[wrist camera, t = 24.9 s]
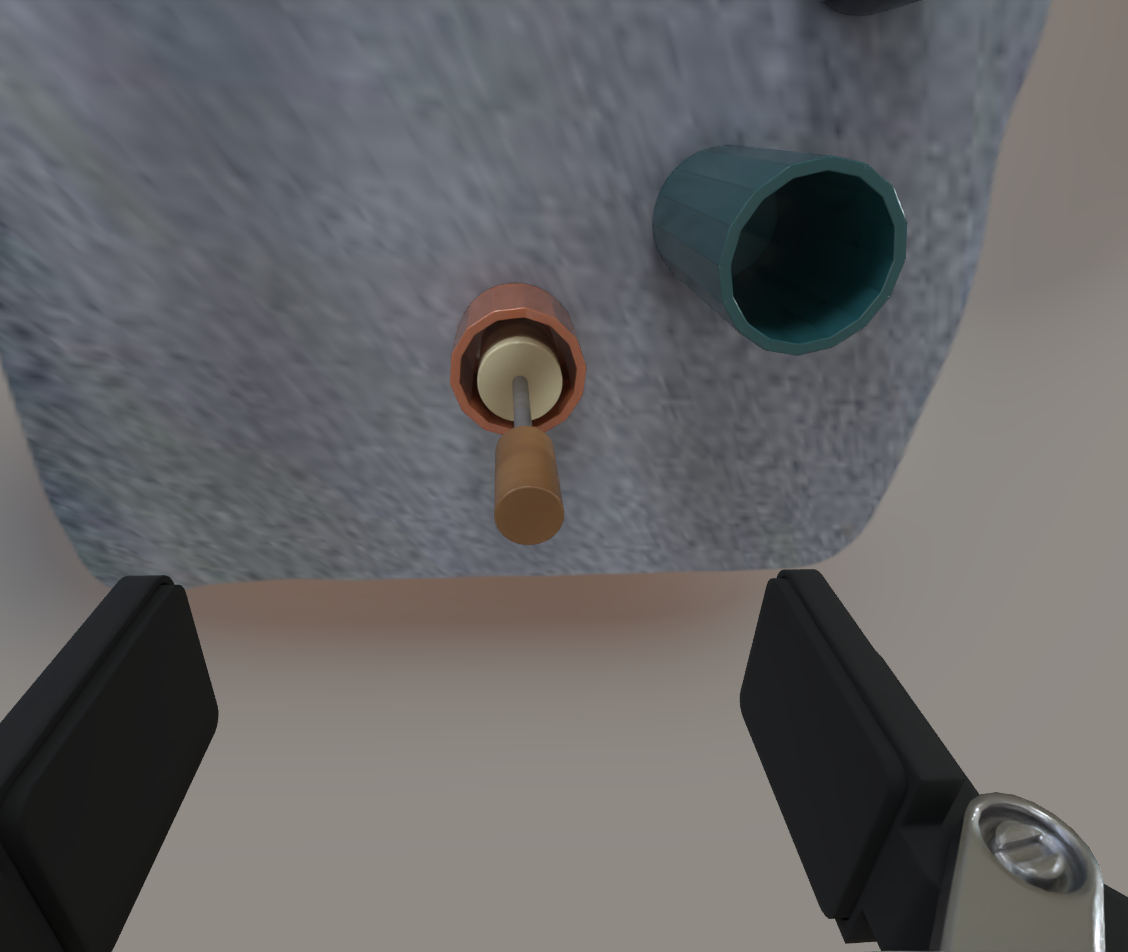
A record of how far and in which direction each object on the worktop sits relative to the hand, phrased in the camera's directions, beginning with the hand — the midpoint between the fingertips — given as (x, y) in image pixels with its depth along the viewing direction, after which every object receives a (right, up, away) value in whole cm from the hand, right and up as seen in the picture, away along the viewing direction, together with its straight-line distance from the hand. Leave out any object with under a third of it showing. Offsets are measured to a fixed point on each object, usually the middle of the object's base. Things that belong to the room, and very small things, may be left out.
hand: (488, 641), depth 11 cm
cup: (+10, +17, +26) cm, 33 cm away
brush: (-2, +10, +28) cm, 30 cm away
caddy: (-2, +11, +29) cm, 31 cm away
